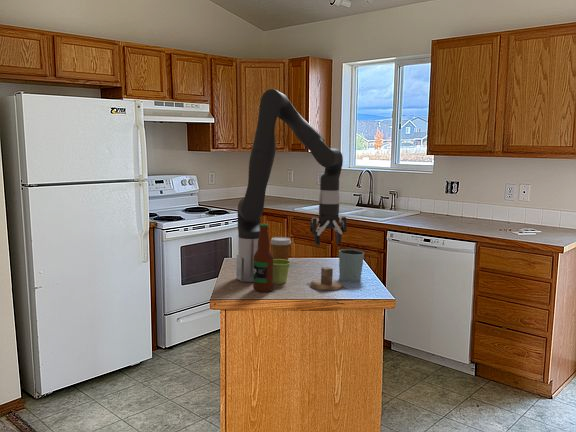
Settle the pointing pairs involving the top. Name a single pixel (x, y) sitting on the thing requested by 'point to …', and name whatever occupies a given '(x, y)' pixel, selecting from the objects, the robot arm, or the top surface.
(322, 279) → the lid
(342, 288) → the mat
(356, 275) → the grey green tapered cylinder
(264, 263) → the bottle
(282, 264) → the plant pot
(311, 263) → the top surface
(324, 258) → the top surface
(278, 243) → the disposable coffee cup
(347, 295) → the top surface
